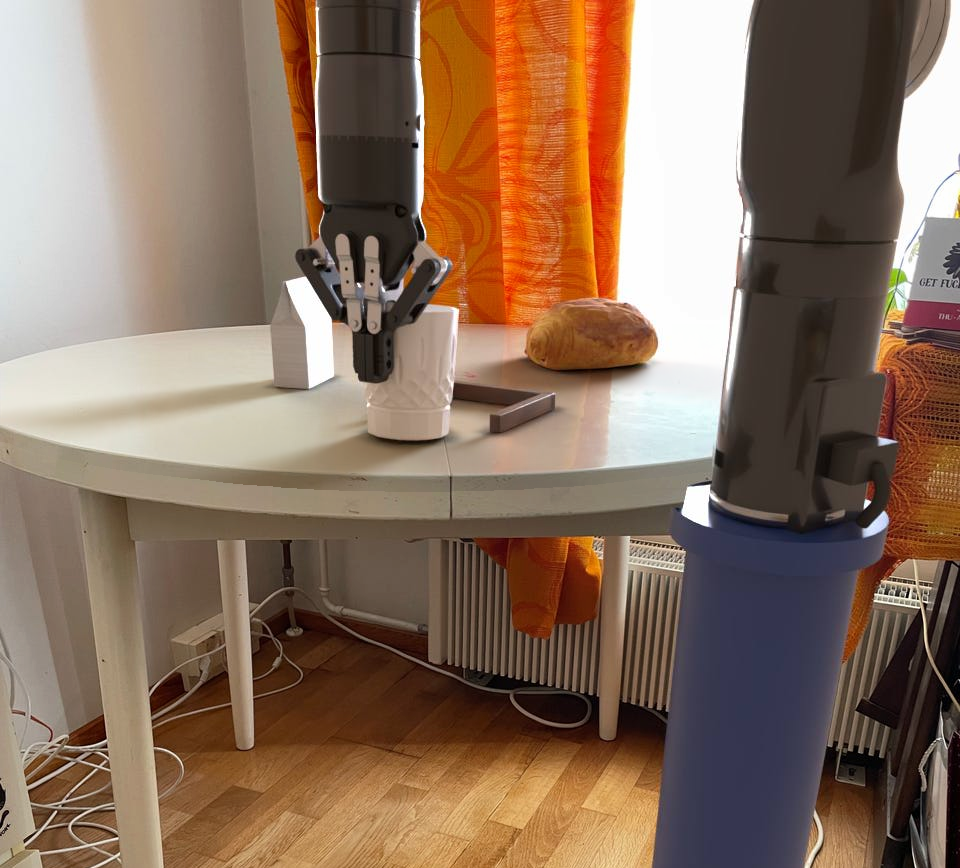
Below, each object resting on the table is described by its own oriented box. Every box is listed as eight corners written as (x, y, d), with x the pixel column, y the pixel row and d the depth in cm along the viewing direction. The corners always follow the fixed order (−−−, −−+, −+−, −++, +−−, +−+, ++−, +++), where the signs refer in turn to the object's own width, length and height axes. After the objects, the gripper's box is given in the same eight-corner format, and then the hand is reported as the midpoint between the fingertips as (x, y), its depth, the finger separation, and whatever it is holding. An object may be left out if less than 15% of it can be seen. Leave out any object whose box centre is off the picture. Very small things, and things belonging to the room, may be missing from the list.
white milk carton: (333, 376, 107) (329, 275, 103) (308, 388, 101) (302, 282, 97) (301, 374, 108) (295, 274, 104) (274, 386, 102) (267, 281, 98)
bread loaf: (670, 388, 115) (687, 315, 112) (545, 375, 109) (559, 297, 106) (613, 362, 127) (627, 295, 124) (497, 349, 121) (509, 279, 118)
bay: (499, 433, 86) (500, 415, 85) (381, 415, 91) (380, 399, 91) (554, 409, 95) (555, 392, 94) (443, 394, 100) (443, 378, 99)
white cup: (432, 446, 80) (435, 313, 77) (343, 436, 83) (341, 306, 79) (469, 430, 87) (473, 307, 83) (386, 420, 90) (386, 301, 86)
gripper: (261, 129, 72) (275, 379, 79) (422, 131, 66) (421, 400, 74) (325, 133, 78) (332, 365, 85) (477, 135, 72) (471, 383, 80)
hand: (374, 381), depth 79 cm, fingers closed
